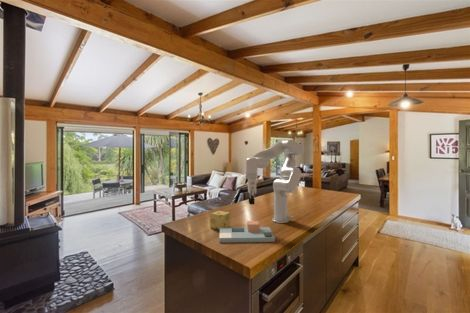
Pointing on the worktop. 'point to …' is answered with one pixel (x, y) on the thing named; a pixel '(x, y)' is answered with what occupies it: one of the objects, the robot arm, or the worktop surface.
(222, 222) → the cheese
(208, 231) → the worktop surface
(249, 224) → the block
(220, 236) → the trap deck
